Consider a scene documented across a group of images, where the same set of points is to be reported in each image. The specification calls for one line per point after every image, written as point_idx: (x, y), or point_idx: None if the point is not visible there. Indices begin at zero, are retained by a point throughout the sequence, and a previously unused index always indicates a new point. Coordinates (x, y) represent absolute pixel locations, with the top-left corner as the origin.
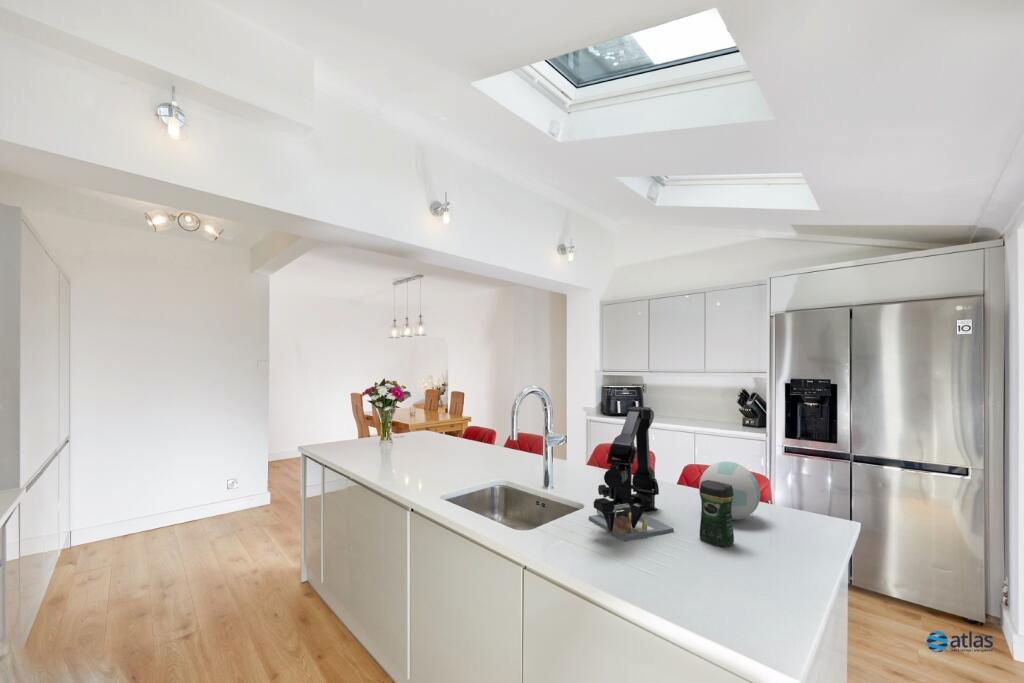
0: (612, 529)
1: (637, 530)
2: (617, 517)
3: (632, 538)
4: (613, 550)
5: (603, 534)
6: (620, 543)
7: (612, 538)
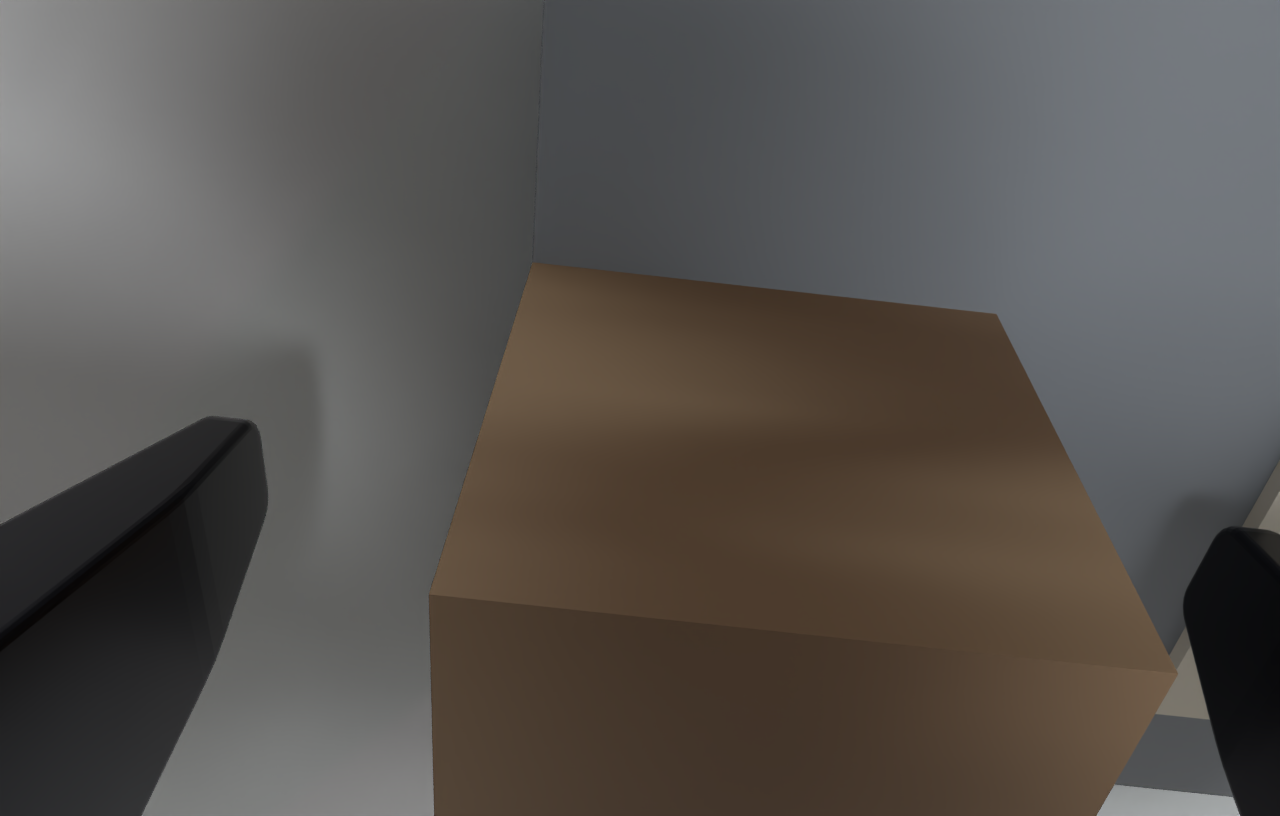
0: (228, 602)
1: (1181, 656)
2: (688, 673)
3: None
4: None
5: (210, 80)
6: (342, 678)
7: (324, 428)
